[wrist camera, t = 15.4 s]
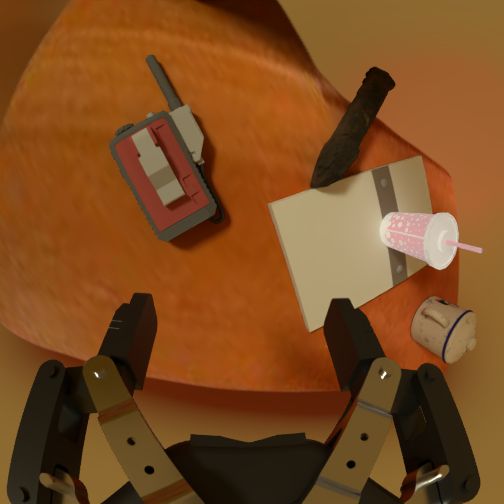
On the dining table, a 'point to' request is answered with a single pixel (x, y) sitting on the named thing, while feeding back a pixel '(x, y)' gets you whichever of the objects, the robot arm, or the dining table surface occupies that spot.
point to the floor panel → (348, 236)
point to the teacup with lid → (444, 328)
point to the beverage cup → (424, 236)
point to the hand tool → (352, 129)
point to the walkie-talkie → (166, 165)
